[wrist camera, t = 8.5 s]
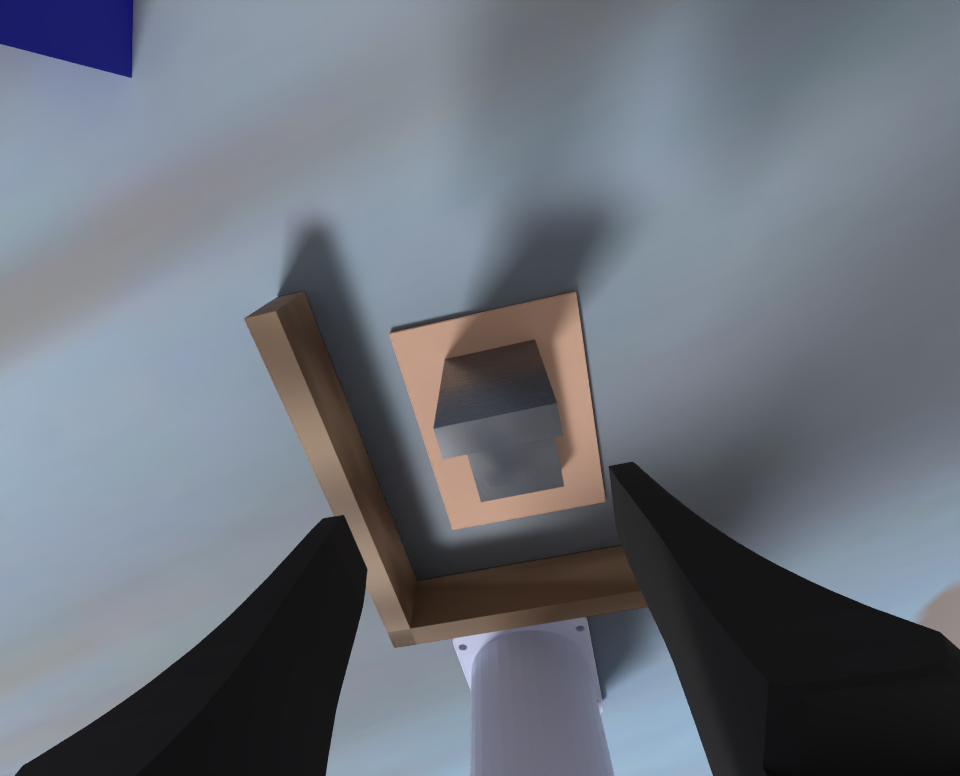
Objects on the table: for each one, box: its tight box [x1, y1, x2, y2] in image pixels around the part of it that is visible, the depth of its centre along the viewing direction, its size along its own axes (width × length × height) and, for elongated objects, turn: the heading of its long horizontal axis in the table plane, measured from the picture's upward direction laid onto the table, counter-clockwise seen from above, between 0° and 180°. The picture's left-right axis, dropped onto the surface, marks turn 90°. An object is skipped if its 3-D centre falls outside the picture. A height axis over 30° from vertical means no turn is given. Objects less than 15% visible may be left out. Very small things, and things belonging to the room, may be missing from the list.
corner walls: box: [244, 291, 648, 648], centre depth 21 cm, size 18×15×3 cm
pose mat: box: [389, 292, 605, 530], centre depth 22 cm, size 11×8×1 cm
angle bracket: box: [433, 339, 564, 502], centre depth 19 cm, size 7×4×6 cm, turn 13°
